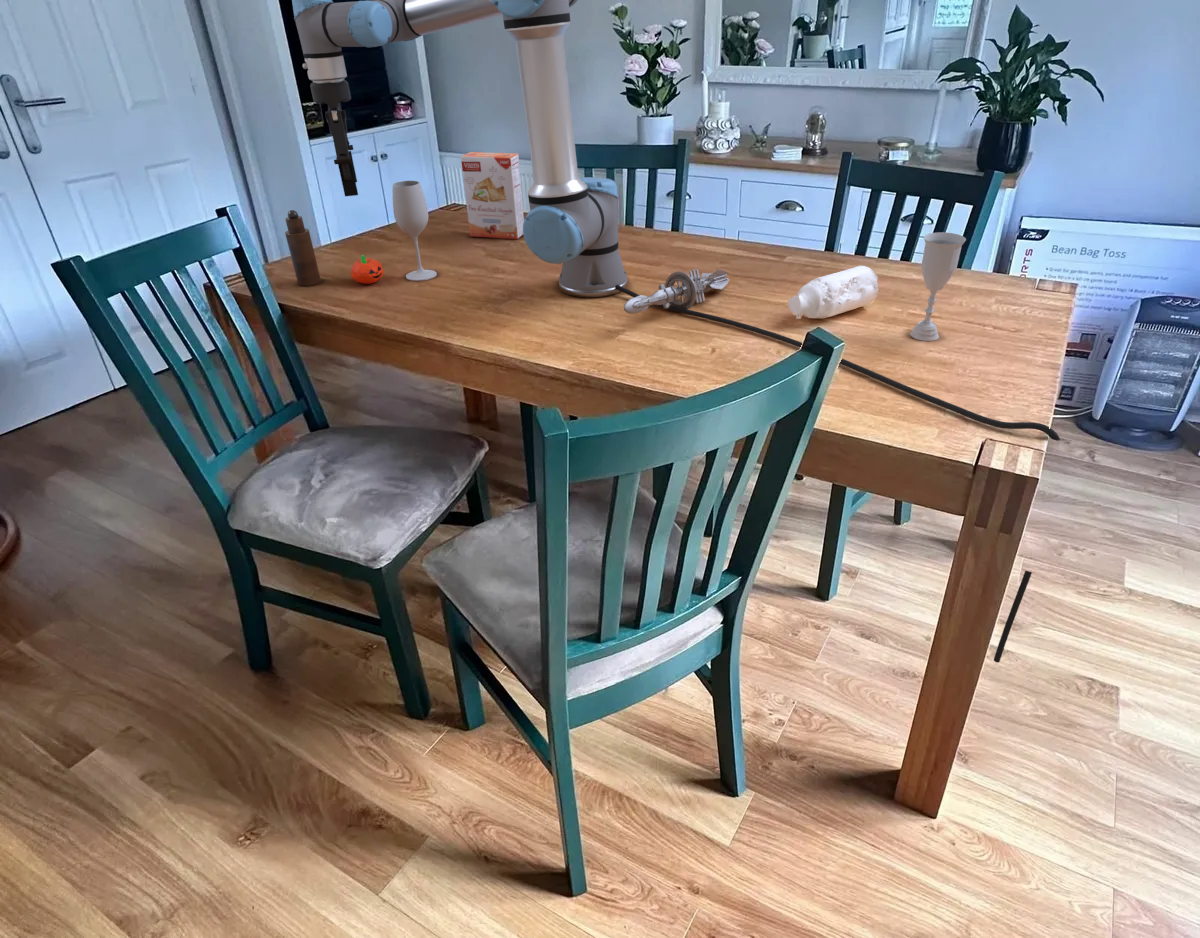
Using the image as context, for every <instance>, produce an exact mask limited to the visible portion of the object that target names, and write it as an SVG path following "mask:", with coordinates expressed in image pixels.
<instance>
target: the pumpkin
mask: <svg viewBox="0 0 1200 938" xmlns="http://www.w3.org/2000/svg"><path fill="white" fill-rule="evenodd" d="M384 273H385V272H384V268H383V266H382V263H381V262H380V261H379V260H377V259H375V258H374V259H373V258H371V257H366V256H365V254H362V255H361V259H358V260H356V261H355V262H354V263H353V265H352V267H351V271H350V277H351V278H352V279H353V281H355V282H356V283H360V284H364V285H370V284H374V283H376V282H378V281H379V280H380V279H381V278H382V277H383V275H384Z"/></svg>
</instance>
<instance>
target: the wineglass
mask: <svg viewBox="0 0 1200 938" xmlns="http://www.w3.org/2000/svg"><path fill="white" fill-rule="evenodd" d="M392 209H393V217H394V220H395V223H396V224H397V226H398V227H399V228H400V229H401V230H402V231H403V232H404V233H406V234H407V235H409V236H410V237H411V238H412V240H413V242H414V248H415V255H416V261H417V269H416V270H413V271H410V272H408V273H407V274H406V275H405V278H406V280H408V281H413V282H423V281H428V280H432V279H434V278H436V277H437V275H438V274H437V273H438V272H437V271H436V270H433V269H424V268H423V265H422V261H421V255H420V249H419V243H418V237H419V235H420V234H421V233H422V232H423V231H424V230H425V228H426V227H427V225H428V223H429V209H428V205H427V200H426V197H425V194H424V190H423V187H422V185H421V183H420V181H418V180H401V181H397V182H394V183H392Z"/></svg>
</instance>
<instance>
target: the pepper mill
mask: <svg viewBox="0 0 1200 938" xmlns="http://www.w3.org/2000/svg"><path fill="white" fill-rule="evenodd" d="M284 219H285V224H286V228H287V230H286V231H284V235H285V239H286V242H287V246H288V250H289V253H290V258H291V261H292V266H293V269H294V273H295V277H296V281H297V285H298V286H300V287H312V286H317V285H318V284H320V283H322V278H321V275H320V270H319V266H318V262H317V257H316V253H315V250H314V246H313V242H312V237H311V233H310V229H309V228H306V227H305V223H304V220H303V216H301V215H299V213H298V211H296V210H294V209H290V210H289V211H288V212H287V217H285V218H284Z"/></svg>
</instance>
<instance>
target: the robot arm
mask: <svg viewBox="0 0 1200 938" xmlns="http://www.w3.org/2000/svg"><path fill="white" fill-rule="evenodd" d="M578 1H579V0H358V1H344V2H343V1H342V2H334V1H333V0H291V2H292V3H291V4H292V11H293V16H294V17H293V19H294V22H295V26H296V29H297V33H298V38H299V41H300V45H301V50H302V55H303V58H304V63H302V68H303V69H304V70H307V77H308V79H309V81H312V82H310V85H309V87H310V92H311V95H312V100H313V102H314V103H315V104H317V105H318V104H319V105H325V104H326V105H327V111H325V119H326V122H327V124H328V129H329V133H330V134H331V135H332V141H333V145H334V151H335V155H336V157H335V158H336V159H333V163H334V165H337V166H338V171H339V175H340V179H341V185H342V189H343V194H344V197H353V196H359V193H358V187H357V183H358V178H357V174H356V173H357V172H356V169H355V164H354V160H353V155H352V154H353V153H352V151H354V145H353V144H350V141H349V138H348V125H347V113H346V110H345V109H343V110H342V103H347V102H350V101H351V99H352V95H351V90H350V86H349V82H348V81H347V80H345V79H346V78H347V77H348V74H347V68H346V64H345V59H344V55H343V50H342V48H345V47H346V48H348V47H349V48H352V47H353V48H355V47H356V48H363V47H364V48H365V47H366V48H369V49H370V48H377V47H383V46H385V45H386V44H390V43H397V42H410V41H414V40H416V39H418V38H420V37H422V36H426V35H429V34H434V33H438V32H442V31H445V30H449V29H452V28H453V29H454V28H457V27H460V26H465V25H468V24H472V23H477V22H481V21H484V20H488V19H492V18H495V17H499V16H502V20H503V27H504V31H505V33H507V34H508V35H509V36H510V37H511V38H512V39H513V41H514V43H515V44H514V45H515V50H516V58H517V66H518V72H519V80H520V87H521V94H522V95H521V96H522V101H523V109H524V117H525V124H526V132H527V139H528V146H529V154H530V160H531V161H530V162H531V168H532V169H531V170H532V174H533V175H532V176H533V184H532V185H531V187H529V189H528V191H527V198H528V204H529V211H528V212H527V214H526V216H525V217H524V223H523V235H522V236H523V240H524V241H525V244H526V246H527V248H528V249H529V250H530V252H531V253H533V254H534V255H535V256H536V257H537V258H538V259H539V260H541V261H543V262H546V263H548V264H552V265H560V264H562V266H561V271H560V274H559V278H558V286H559V287H558V288H559V290H560V292H562V293H564V294H566V295H569V296H573V297H577V298H578V297H579V298H603V297H608V296H613V295H616V294H618V293H620V292H622V293H623V294H626V295H628V296H630V297H631V298H633V297H637V296H641V295H640V294H638V293H636V292H635V291H632V290H630V289H629V288H628V274H627V271H626V270H625V267H624V265H623V260H622V256H621V253H620V251H619V249H620V248H619V195H618V186H617V184H616V181H614V180H613V179H611V178H605V177H589V176H587V177H585V176H583V177H581V176H579V170H578V161H577V153H576V150H577V149H576V141H575V134H574V125H573V124H574V123H573V114H572V106H571V105H572V104H571V95H570V84H569V76H568V67H567V57H566V48H565V38H564V36H565V33H566V31H567V30H568V28H569V27H570V26H571V23H572V22H571V12H570V11H571V10H570V8H572V7H573V6H574V5H576V3H577V2H578ZM652 306H654V307H657V308H660V309H664V310H668V311H671V312H675V313H680V314H683V315H688V316H693V317H697V318H701V319H705V320H709V321H714V322H717V323H720V324H725V325H729V326H732V327H735V328H740V329H743V330H747V331H750V332H753V333H757V334H759V335H763V336H766V337H769V338H772V339H775V340H778V341H781V342H783V343H786V344H789V345H791V346H794V347H797V348H800V347H801V345H802V343H803V342H801V341H799V340H796V339H793V338H791V337H788V336H786V335H782V334H779V333H777V332H772V331H770V330H767V329H764V328H761V327H760V328H759V327H756V326H754V325H750V324H747V323H743V322H740V321H737V320H732V319H730V318H729V319H728V318H724V317H721V316H718V315H713V314H710V313H709V314H708V313H705V312H700V311H697V310H691V309H688V310H687V309H683V308H679V307H675V306H671V305H670V304H669V308H666V309H665V308H664V307H663V304H662V305H652ZM839 364H840V365H841V366H845V367H847V368H849V369H851V370H854V371H856V372H858V373H861V374H862V375H866V376H868V377H870V378H872V379H875V380H877V381H879V382H881V383H884V384H886V385H888V386H890V387H893V388H895V389H898V390H900V391H903V392H905V393H907V394H910V395H912V396H914V397H916V398H919V399H921V400H923V401H926V402H929V403H931V404H933V405H936V406H939V407H941V408H943V409H946V410H949V411H952V412H954V413H956V414H959V415H962V416H964V417H966V418H968V419H970V420H973V421H976V422H979V423H981V424H985V425H988V426H991V427H994V428H999V429H1005V430H1036V431H1040V432H1042V433H1044V434H1046V435H1047V436H1048V437H1049V438H1050V439H1051V440H1053V441H1056V442H1057V441H1058V442H1059V441H1061V438H1060V436H1059V435H1058V433H1057V432H1056V431H1055V430H1054V429H1053V428H1051V427H1050V426H1048V425H1047V424H1044V423H1041V422H1032V421H1020V422H1018V421H1017V422H1011V421H1001V420H997V419H993V418H990V417H987V416H984V415H981V414H979V413H976V412H973V411H971V410H968V409H966V408H964V407H960V406H958V405H956V404H953V403H951V402H948V401H945V400H943V399H940V398H938V397H935V396H932V395H931V394H927V393H925V392H923V391H920V390H918V389H915V388H913V387H911V386H908V385H905V384H903V383H901V382H898V381H896V380H894V379H892V378H889V377H887V376H884V375H883V374H881V373H878V372H875V371H873V370H870V369H868V368H866V367H863V366H862V365H859V364H856V363H854V362H852V361H849V360H848V359H845V358H842V360H841V362H840V363H839ZM1049 427H1050V429H1049ZM1032 574H1033V572H1032V571H1029V570H1025V571H1024V573H1023V576H1022V579H1021V582H1020V584H1019V586H1018V589H1017V592H1016V595H1015V597H1014V600H1013V603H1012V605H1011V608H1010V611H1009V613H1008V617H1007V619H1006V622H1005V625H1004V627H1003V630H1002V633H1001V636H1000V640H999V642H998V645H997V648H996V651H995V655H994V658H993V662H995V663H1000V662H1001V658H1002V656H1003V653H1004V650H1005V648H1006V647H1005V646H1006V643H1007V641H1008V638H1009V635H1010V633H1011V629H1012V627H1013V624H1014V621H1015V618H1016V616H1017V613H1018V610H1019V608H1020V605H1021V603H1022V600H1023V597H1024V595H1025V592H1026V590H1027V587H1028V585H1029V582H1030V579H1031V576H1032Z"/></svg>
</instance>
